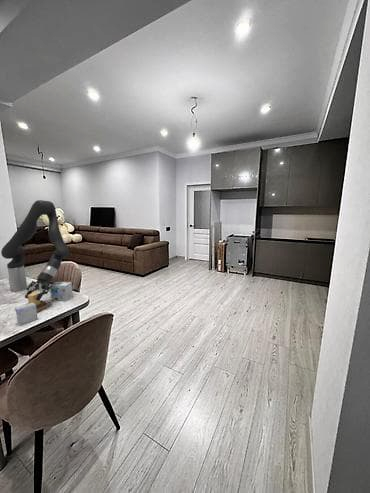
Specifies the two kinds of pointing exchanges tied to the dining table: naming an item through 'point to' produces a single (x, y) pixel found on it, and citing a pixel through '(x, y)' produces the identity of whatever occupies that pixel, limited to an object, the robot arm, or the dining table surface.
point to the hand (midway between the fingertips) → (31, 299)
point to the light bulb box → (61, 291)
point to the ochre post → (33, 298)
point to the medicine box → (26, 313)
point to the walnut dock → (42, 306)
